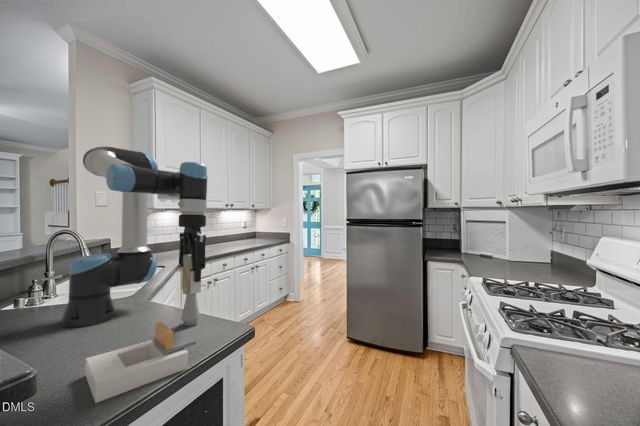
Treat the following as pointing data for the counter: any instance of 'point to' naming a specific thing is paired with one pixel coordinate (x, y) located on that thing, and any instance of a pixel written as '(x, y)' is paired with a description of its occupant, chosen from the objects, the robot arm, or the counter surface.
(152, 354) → the socket
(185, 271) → the box
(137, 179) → the robot arm
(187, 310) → the salt shaker
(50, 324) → the counter surface
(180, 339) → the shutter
